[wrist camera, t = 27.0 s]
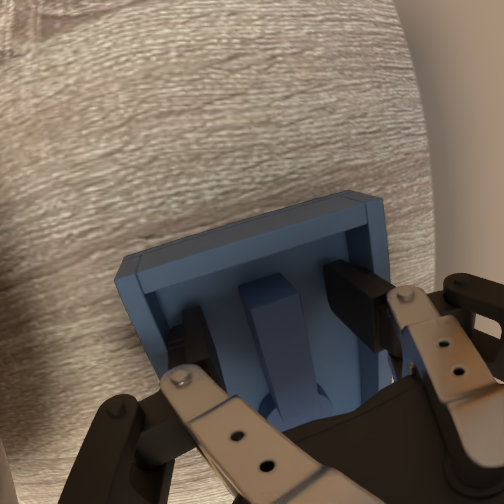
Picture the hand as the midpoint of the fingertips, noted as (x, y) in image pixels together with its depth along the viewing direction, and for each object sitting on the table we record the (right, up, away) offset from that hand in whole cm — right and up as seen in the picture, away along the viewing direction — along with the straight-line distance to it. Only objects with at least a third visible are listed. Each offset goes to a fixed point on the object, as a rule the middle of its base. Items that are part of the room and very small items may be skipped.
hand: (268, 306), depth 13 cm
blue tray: (+1, -3, +2) cm, 4 cm away
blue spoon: (+1, -3, +2) cm, 4 cm away
